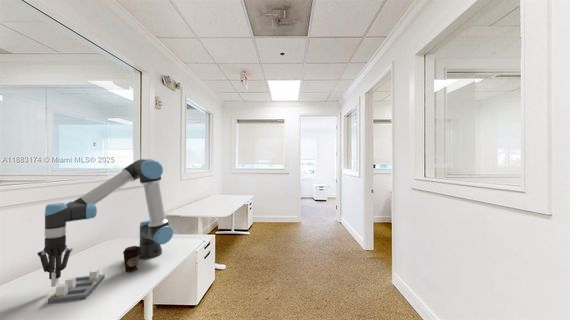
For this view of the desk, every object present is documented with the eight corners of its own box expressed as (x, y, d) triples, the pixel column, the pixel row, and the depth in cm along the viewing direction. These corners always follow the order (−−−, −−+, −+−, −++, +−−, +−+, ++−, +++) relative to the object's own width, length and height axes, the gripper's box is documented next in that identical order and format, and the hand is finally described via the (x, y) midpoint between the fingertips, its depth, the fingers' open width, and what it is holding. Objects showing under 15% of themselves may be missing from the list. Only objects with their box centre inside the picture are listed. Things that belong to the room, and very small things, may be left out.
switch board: (104, 277, 133) (104, 273, 133) (85, 298, 113) (85, 293, 113) (73, 281, 129) (73, 277, 129) (47, 303, 109) (47, 298, 109)
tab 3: (98, 277, 130) (98, 269, 131) (96, 280, 128) (96, 271, 128) (92, 278, 130) (92, 269, 130) (89, 281, 127) (89, 272, 127)
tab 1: (67, 293, 115) (68, 283, 115) (64, 296, 112) (64, 286, 112) (60, 294, 114) (60, 284, 114) (56, 297, 111) (56, 287, 111)
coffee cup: (143, 268, 145) (143, 246, 145) (130, 274, 137) (130, 251, 137) (132, 266, 148) (132, 244, 148) (119, 272, 140) (119, 249, 140)
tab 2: (75, 285, 122) (76, 276, 122) (72, 288, 119) (72, 279, 119) (68, 286, 121) (68, 277, 121) (65, 289, 118) (65, 280, 118)
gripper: (75, 232, 124) (75, 279, 124) (43, 234, 120) (43, 283, 120) (67, 237, 117) (66, 287, 116) (33, 239, 113) (32, 291, 113)
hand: (54, 285), depth 118 cm, fingers closed
